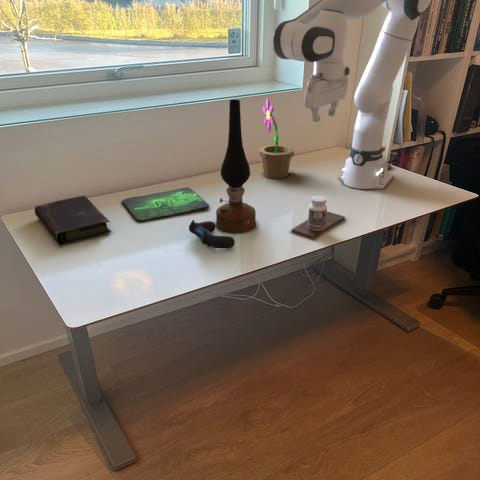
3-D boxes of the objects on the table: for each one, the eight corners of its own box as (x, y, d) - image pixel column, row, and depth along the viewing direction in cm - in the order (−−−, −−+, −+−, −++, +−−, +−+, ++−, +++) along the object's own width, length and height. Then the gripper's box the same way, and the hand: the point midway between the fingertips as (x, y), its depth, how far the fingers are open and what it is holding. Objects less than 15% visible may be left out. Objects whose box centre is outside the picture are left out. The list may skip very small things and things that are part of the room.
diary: (57, 247, 157) (53, 232, 154) (36, 219, 174) (33, 205, 171) (114, 233, 165) (112, 219, 162) (89, 208, 182) (86, 194, 179)
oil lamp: (259, 229, 175) (284, 106, 157) (246, 240, 162) (270, 107, 144) (222, 219, 178) (242, 97, 160) (206, 229, 165) (225, 97, 147)
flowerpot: (253, 170, 215) (254, 95, 198) (285, 167, 218) (288, 92, 201) (265, 182, 204) (267, 102, 186) (298, 178, 207) (303, 100, 190)
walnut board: (323, 213, 178) (323, 210, 177) (344, 219, 174) (344, 216, 173) (291, 232, 165) (291, 229, 165) (313, 239, 161) (313, 236, 160)
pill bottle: (326, 231, 163) (329, 202, 158) (308, 231, 163) (311, 202, 158) (323, 223, 168) (326, 195, 162) (306, 224, 168) (308, 195, 162)
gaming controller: (206, 237, 168) (182, 228, 162) (214, 221, 166) (189, 211, 160) (230, 257, 156) (205, 248, 150) (239, 240, 154) (213, 231, 148)
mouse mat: (137, 222, 171) (137, 220, 171) (120, 200, 187) (120, 198, 187) (211, 208, 181) (211, 205, 180) (189, 188, 197) (188, 186, 197)
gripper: (318, 77, 147) (314, 126, 154) (353, 68, 160) (348, 114, 167) (300, 74, 150) (297, 123, 158) (336, 66, 163) (331, 111, 171)
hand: (323, 118), depth 163 cm, fingers open, 8 cm apart
